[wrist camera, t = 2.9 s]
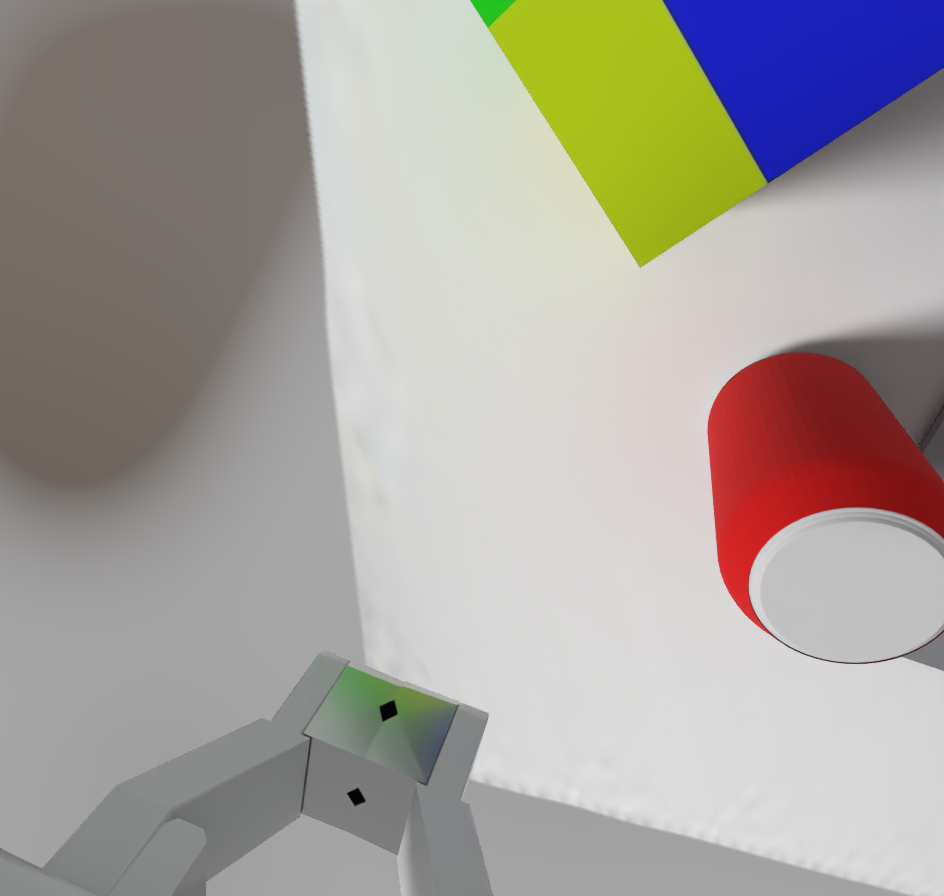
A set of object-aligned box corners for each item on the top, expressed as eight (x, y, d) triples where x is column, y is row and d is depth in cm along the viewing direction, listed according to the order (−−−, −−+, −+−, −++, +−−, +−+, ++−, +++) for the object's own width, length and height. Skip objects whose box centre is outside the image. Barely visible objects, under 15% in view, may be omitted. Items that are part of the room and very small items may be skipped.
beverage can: (705, 350, 27) (719, 487, 16) (880, 337, 25) (1024, 485, 14) (707, 483, 29) (721, 678, 18) (867, 482, 27) (984, 700, 16)
